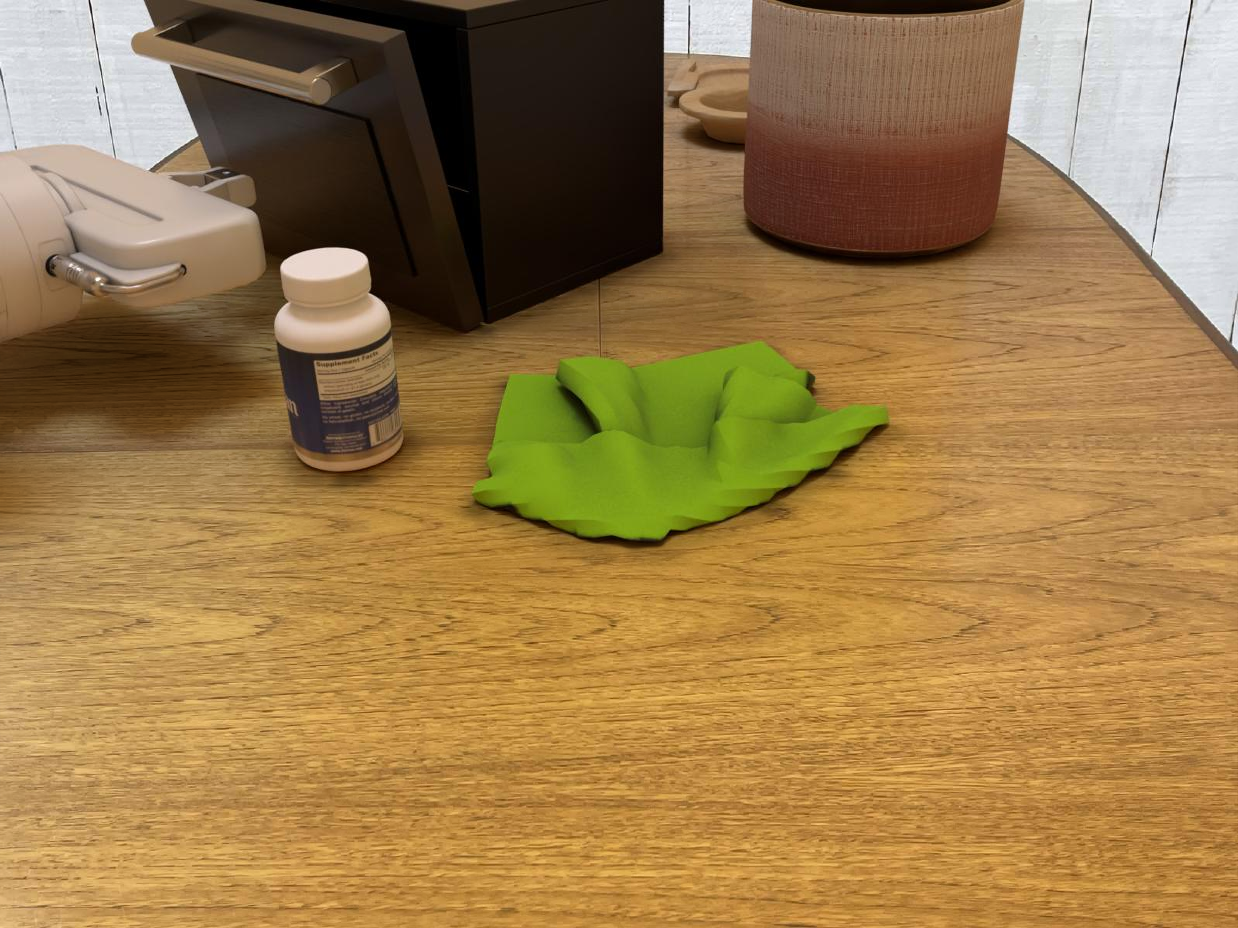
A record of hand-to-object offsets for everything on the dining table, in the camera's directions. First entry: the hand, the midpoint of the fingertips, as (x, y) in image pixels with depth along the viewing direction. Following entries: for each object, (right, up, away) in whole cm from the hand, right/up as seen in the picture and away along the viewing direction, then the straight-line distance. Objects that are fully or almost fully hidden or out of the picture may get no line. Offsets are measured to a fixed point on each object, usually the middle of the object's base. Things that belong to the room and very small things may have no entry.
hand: (241, 184), depth 73 cm
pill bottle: (+9, -16, -11) cm, 21 cm away
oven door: (+4, -5, +8) cm, 10 cm away
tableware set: (+25, +16, +43) cm, 53 cm away
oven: (+11, -1, +14) cm, 18 cm away
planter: (+40, +1, +17) cm, 43 cm away
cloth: (+25, -15, -10) cm, 31 cm away
